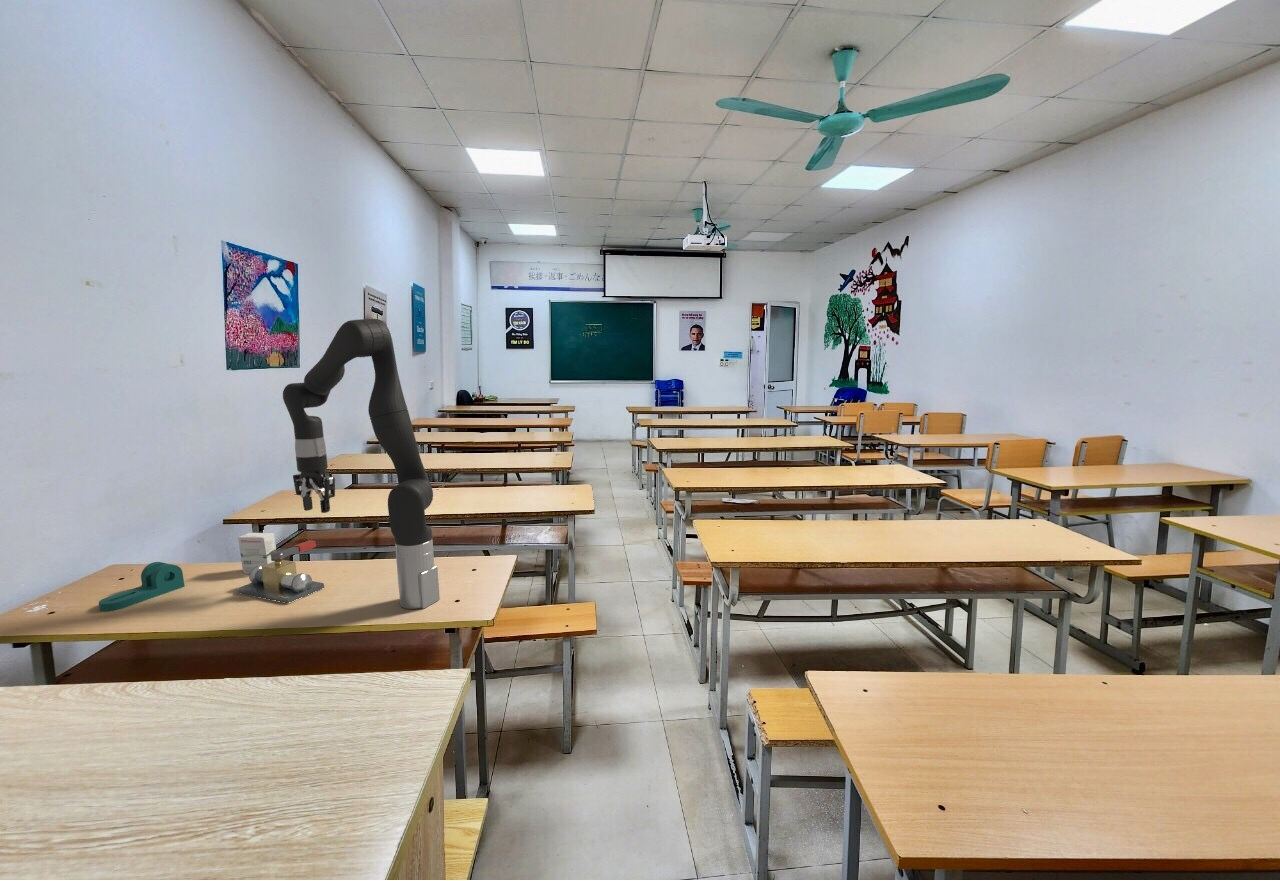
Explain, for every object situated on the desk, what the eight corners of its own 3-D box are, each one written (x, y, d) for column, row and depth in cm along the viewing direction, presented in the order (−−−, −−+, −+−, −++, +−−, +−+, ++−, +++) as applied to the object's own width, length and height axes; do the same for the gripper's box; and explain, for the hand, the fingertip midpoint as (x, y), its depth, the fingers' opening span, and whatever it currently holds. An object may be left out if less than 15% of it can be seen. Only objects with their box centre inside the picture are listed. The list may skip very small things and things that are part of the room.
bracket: (170, 584, 169) (166, 558, 168) (184, 587, 166) (181, 561, 165) (94, 609, 152) (89, 581, 151) (109, 613, 150) (104, 585, 149)
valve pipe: (324, 588, 164) (321, 557, 163) (288, 604, 154) (284, 571, 152) (275, 578, 171) (272, 549, 170) (238, 593, 161) (234, 562, 160)
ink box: (279, 568, 179) (275, 532, 178) (268, 574, 175) (263, 537, 173) (254, 567, 180) (249, 531, 178) (241, 573, 175) (237, 536, 174)
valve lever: (316, 547, 171) (316, 541, 170) (276, 561, 159) (275, 555, 159) (309, 545, 172) (308, 539, 172) (268, 560, 160) (267, 554, 160)
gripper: (280, 454, 161) (287, 512, 164) (317, 457, 156) (323, 517, 158) (305, 450, 168) (310, 505, 171) (341, 452, 163) (346, 510, 165)
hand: (317, 510), depth 165 cm, fingers open, 6 cm apart
